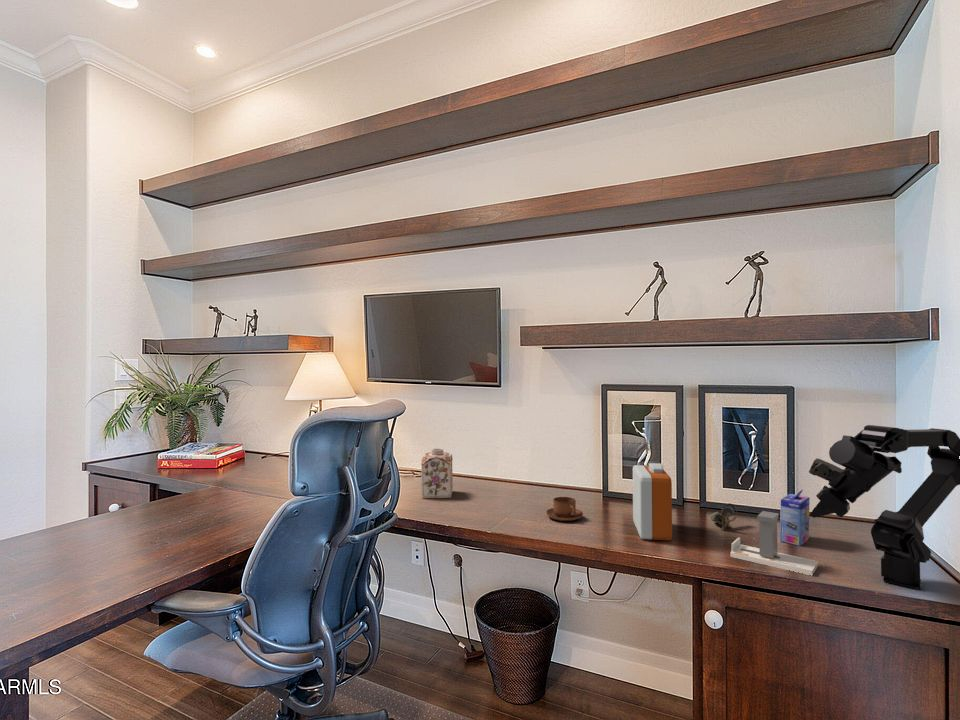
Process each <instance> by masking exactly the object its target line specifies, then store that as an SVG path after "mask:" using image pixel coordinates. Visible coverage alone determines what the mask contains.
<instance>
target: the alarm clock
mask: <svg viewBox="0 0 960 720" xmlns="http://www.w3.org/2000/svg"><path fill="white" fill-rule="evenodd" d="M672 481H673V480H672V478H671V476H670V475H669V474H668V473H667V472H666V470H664V465H663V463H657V462H656V463H654V462H651V463H650V462H649V463H648V465H643V464H642V465H641V464H639V465H637V464H635V465H633V466H632V521H633V524H634V525H635V528H636V530H637V532H638V535H639V537H640V539H641V540H651V541H652V540H653V541H672V540H673V539H672V538H673V494H672V493H673V492H672V491H673V490H672V489H673V488H672V487H673V485H672V484H673V483H672Z"/></svg>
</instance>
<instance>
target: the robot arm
mask: <svg viewBox="0 0 960 720" xmlns="http://www.w3.org/2000/svg"><path fill="white" fill-rule="evenodd" d="M917 447H928V449H927V452H926V454H927V455H928V457H929V458H930V459H931V460H930V466H931V473H930V474H929V475H928V476H927V478H926V479H925V480H923V482H922V483H921V484H920V485H919V487H918V488H917V489H916V490H915V492H914V493H912V495H910V498H908V499H907V501H906V502H904V504H903V505H902V506H901V508H900V509H899V510H897V511H892V510H889V509H884V510H882V511H881V513H880V515H879V516H878V517H877V518H876V519H874V524H873V525H872V526H871V529H870V535H871V538H872V541H873V544H874V548H875V550H876V551H881V552H883V555H882V556H881V558H880V576H881V577H882V578H883V579H882V581H883V582H884V583H889V584H894V585H897V586H902V587H906V588H910V589H915V590H919V591H920V590H921V589H922V579H921V563H923V564H926V563H927V561H928V562H929V561H930V558H931V555H932V550H930V548H929V547H928V546H927V545H926V544H925V542H924V541H925V537H924V529H923V527H924V525H925V524H926V523H927V522H928V520H930V518H931V517H932V516H933V515H934V513H935V512H936V511H937V510H938V508H939V507H940V506H941V505H942V504H943V503H944V501H946V499H947V497H949V496H950V494H951V493H952V492H953V491H954V489H955V488H956V487H958V486H960V459H959V456H960V436H959V435H958V434H957V433H956V432H955V431H953V430H951V429H942V428H933V427H931V428H928V429H926V428H924V429H923V428H922V429H921V428H920V429H903V428H899V427H893V426H882V425H875V424H874V425H873V424H867V425H865V426H863V429H862V430H860V432H859V433H857V434H856V435H855V436H852V435H845V434H844V435H842V438H841V439H840V440H838V441H836V442H834V444H832V445H831V446H830V448H829V452H828V454H829V459H830V460H831V461H832V462H834V464H833V463H830V462H829V461H826V460H823V459H821V458H817V457H816V458H815V459H814V460H813V462H812V463H811V466H810V469H809V471H808V473H809V474H811V475H813V476H816V477H819V478H821V479H823V480H825V481H828V486H829V487H828V486H827V485H824V486H823V487H822V488H821V489H820V490H819V492H818V493H816V495H815V496H816V498H817V499H818V500H819V501H818V503H817V504H816V506H814V508H813V509H812V510H811V511H810V512H809V516H810V517H812V518H819V517H823V516H828V515H833V514H835V515H836V516H837V517H839V518H843V517H844V516H845V515H847V513H849V511H850V510H851V505H850V503H851V504H854V503H856V501H857V500H858V498H860V497H862V496H863V495H864V494H865V493H868V492H869V491H871V489H872V488H873V487H874V486H875V485H877V484H879V482H881V481H882V480H883V479H884V478H886V477H888V476H889V475H890V474H891V473H893V472H895V473H897V474H901V473H902V472H903V471H902V470H903V469H902V463H903V462H902V461H901V460H899V459H898V458H897V456H886V455H885V453H886V454H888V453H893V454H899V453H902V452H905V451H907V450H908V449H909V448H917ZM941 447H943V448H941ZM947 447H948V448H947ZM882 453H884V454H882ZM835 463H836V464H837V465H839V466H842V467H844V468H841V467H839V466H837V465H835Z"/></svg>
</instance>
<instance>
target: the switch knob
mask: <svg viewBox="0 0 960 720" xmlns="http://www.w3.org/2000/svg"><path fill="white" fill-rule="evenodd" d="M779 514H780V513H778V512H777V513H776V512H770V511H765V510H762V511H761V512H760V513H759V514H758V515H757V521H758V527H759V529H758V530H759V533H758V534H759V535H758V537H759V539H758V540H759V543H758V544H759V545H758V546H759V547H758V548H760V556H764V557H768V558H772V559H773V558H774V557H775V556H776V554H777V553H779V552H778V551H779V550H778V519H780V517H779Z"/></svg>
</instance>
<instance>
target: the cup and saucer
mask: <svg viewBox="0 0 960 720" xmlns="http://www.w3.org/2000/svg"><path fill="white" fill-rule="evenodd" d="M576 502H577V501H576V498H573V497H568V496H557V497H554V498H553V507H552V508H549V509H547V510H546V515H547V516H548V517H549V518H551V519H553V520H557V521H561V522H562V521H563V522H570V521H578V520H579V519H581V518H582V517H583V516H584V512H583V511H582V510H580V509H578V508H576V507H577V506H576V505H577V503H576Z"/></svg>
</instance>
